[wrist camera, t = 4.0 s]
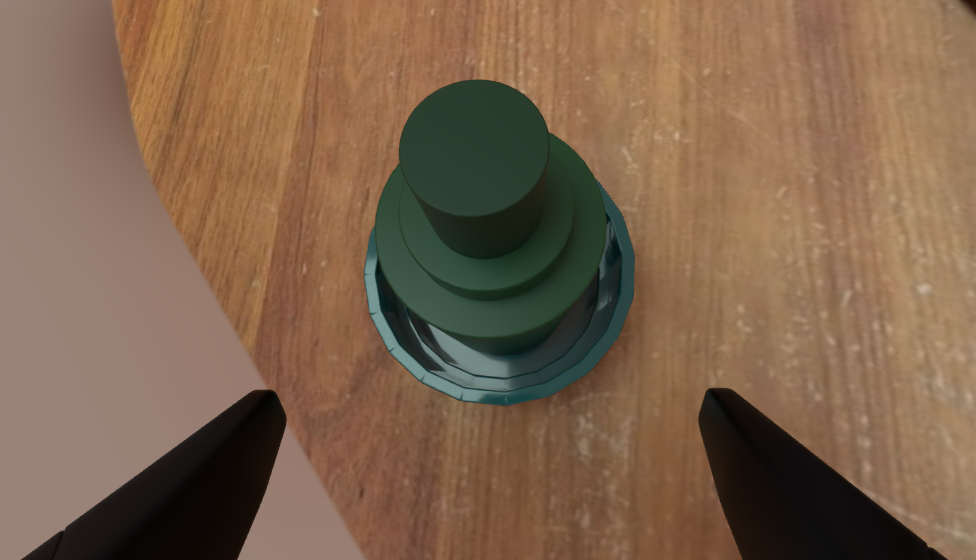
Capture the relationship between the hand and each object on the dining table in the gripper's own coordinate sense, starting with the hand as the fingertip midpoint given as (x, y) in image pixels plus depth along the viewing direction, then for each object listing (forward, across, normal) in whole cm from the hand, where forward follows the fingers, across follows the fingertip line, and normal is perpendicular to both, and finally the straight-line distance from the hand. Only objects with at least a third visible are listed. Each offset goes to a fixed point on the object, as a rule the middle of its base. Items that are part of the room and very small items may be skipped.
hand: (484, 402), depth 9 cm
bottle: (+11, 0, +4) cm, 12 cm away
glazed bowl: (+11, 0, +5) cm, 12 cm away
